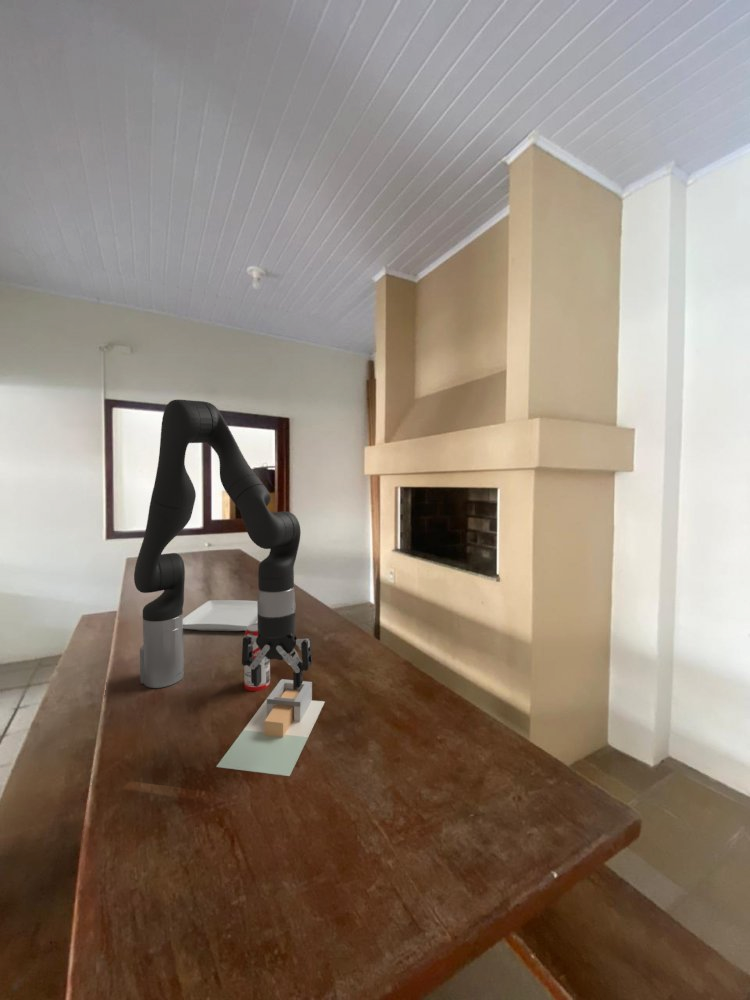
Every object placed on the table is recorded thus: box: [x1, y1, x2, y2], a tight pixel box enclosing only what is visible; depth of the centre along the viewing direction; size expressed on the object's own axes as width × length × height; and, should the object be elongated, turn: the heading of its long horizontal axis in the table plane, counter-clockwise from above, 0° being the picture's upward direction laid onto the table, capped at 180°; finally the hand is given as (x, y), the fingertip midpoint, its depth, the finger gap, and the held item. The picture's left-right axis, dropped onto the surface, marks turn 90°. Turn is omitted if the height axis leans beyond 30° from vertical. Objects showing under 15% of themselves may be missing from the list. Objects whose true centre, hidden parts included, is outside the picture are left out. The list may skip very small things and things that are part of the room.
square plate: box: [183, 599, 258, 632], centre depth 147 cm, size 27×27×4 cm
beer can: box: [243, 623, 271, 692], centre depth 100 cm, size 6×6×16 cm
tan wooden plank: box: [264, 690, 300, 737], centre depth 86 cm, size 4×12×3 cm, turn 172°
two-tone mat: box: [215, 678, 326, 777], centre depth 82 cm, size 14×23×6 cm, turn 172°
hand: (277, 686), depth 81 cm, fingers open, 8 cm apart
